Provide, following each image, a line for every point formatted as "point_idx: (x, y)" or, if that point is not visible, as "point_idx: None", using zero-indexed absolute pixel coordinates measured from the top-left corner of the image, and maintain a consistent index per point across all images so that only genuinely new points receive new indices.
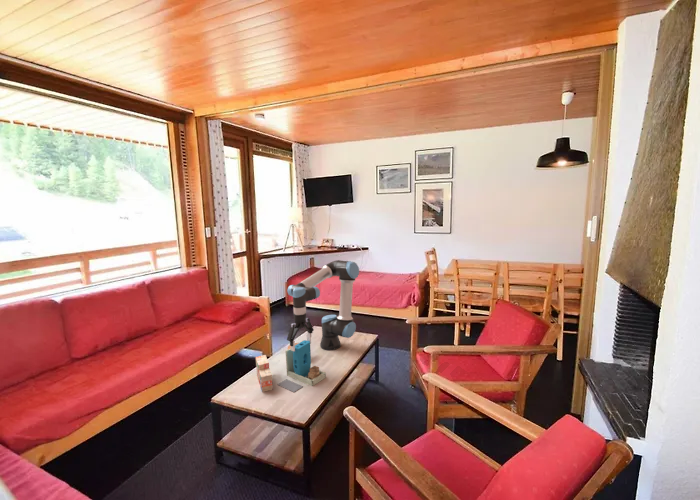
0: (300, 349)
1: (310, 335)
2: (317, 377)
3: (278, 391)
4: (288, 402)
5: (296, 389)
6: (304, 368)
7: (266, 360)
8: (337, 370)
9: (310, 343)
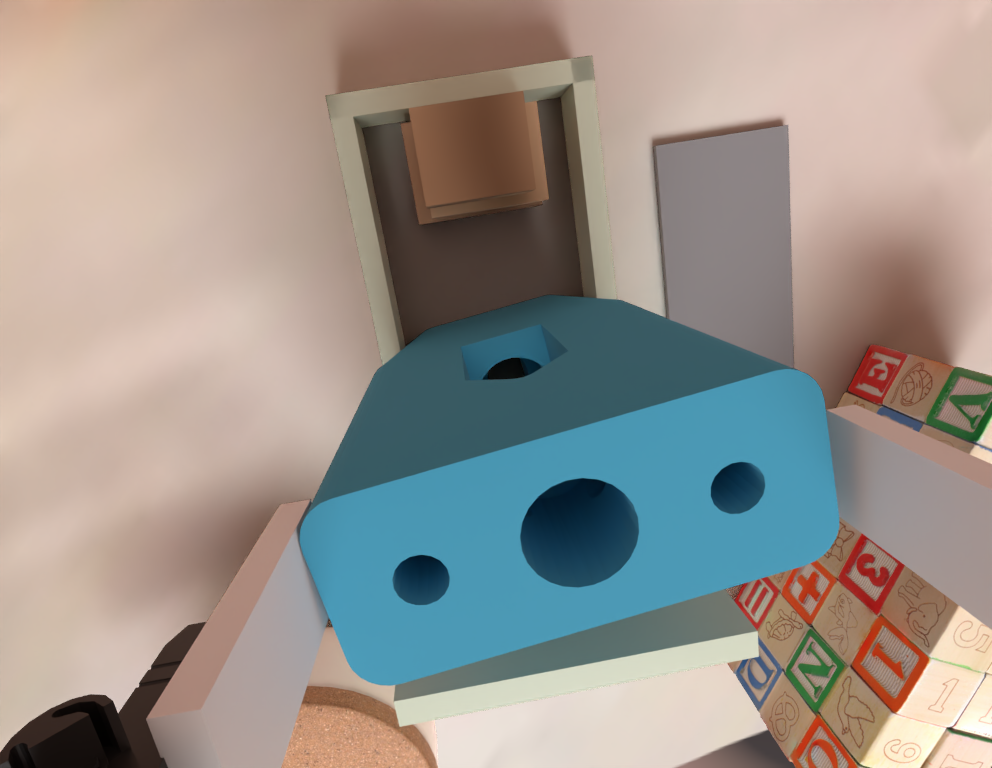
0: (714, 370)
1: (201, 651)
2: (483, 78)
3: (860, 270)
4: (935, 8)
5: (741, 144)
6: (525, 319)
7: (934, 675)
8: (117, 127)
9: (299, 503)
